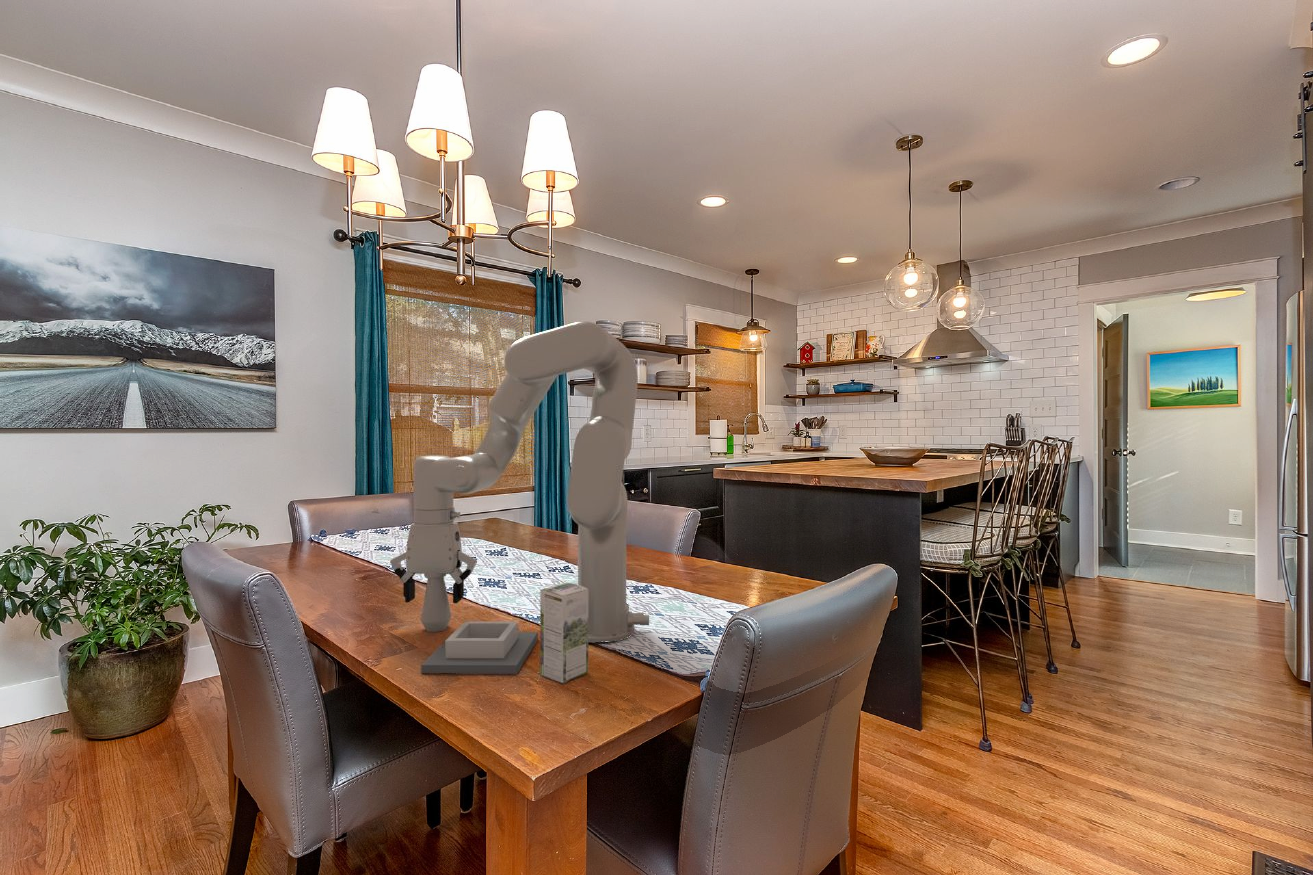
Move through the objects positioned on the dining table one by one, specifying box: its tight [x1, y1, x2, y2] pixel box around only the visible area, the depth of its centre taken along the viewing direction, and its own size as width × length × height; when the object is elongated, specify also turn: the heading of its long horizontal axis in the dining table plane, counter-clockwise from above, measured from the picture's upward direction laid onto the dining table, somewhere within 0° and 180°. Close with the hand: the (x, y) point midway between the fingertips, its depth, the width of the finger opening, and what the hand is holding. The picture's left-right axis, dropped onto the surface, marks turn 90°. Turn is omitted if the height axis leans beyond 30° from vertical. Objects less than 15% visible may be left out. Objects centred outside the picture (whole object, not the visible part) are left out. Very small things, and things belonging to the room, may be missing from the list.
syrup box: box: [539, 582, 589, 684], centre depth 101 cm, size 6×6×14 cm
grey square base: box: [420, 620, 539, 675], centre depth 110 cm, size 16×16×4 cm
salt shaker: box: [420, 572, 452, 633], centre depth 124 cm, size 6×6×13 cm
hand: (433, 601), depth 124 cm, fingers open, 9 cm apart
